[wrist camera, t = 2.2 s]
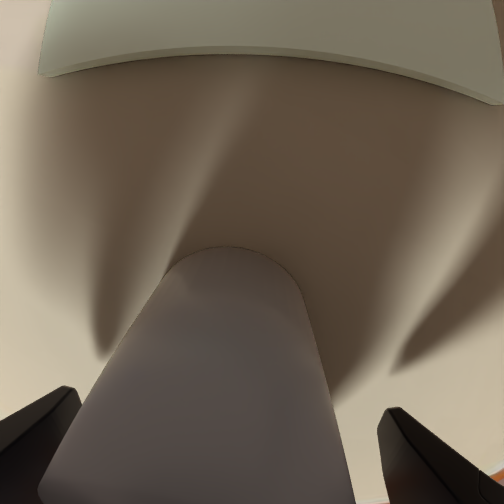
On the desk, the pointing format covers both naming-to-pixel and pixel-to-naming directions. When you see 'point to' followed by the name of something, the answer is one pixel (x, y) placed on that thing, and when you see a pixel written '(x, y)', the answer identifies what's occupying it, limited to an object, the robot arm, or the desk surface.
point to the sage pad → (287, 35)
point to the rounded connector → (208, 399)
